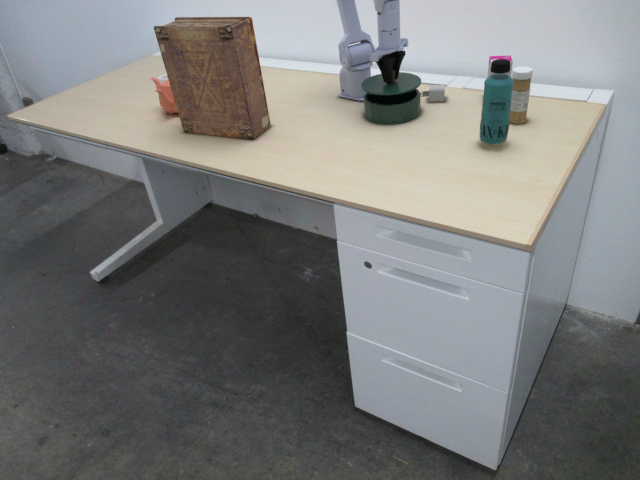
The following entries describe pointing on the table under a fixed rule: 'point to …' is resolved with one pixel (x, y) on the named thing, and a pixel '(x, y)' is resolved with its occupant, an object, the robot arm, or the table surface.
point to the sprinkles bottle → (520, 94)
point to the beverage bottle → (496, 104)
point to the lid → (391, 84)
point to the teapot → (165, 96)
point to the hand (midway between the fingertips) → (390, 80)
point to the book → (215, 75)
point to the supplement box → (496, 59)
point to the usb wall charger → (435, 93)
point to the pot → (392, 107)
